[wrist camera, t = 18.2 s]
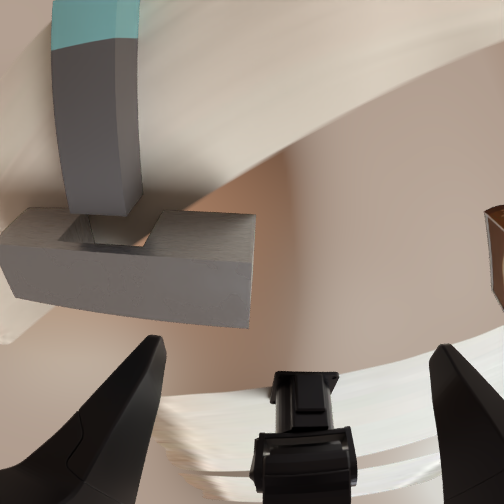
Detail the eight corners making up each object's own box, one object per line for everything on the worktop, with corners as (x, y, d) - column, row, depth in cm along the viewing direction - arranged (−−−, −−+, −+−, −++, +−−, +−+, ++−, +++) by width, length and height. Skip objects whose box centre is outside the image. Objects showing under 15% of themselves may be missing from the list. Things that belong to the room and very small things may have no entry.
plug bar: (143, 193, 20) (126, 216, 17) (91, 192, 20) (70, 213, 17) (140, -9, 12) (118, -17, 10) (80, 4, 12) (52, 1, 10)
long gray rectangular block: (252, 276, 23) (248, 328, 19) (44, 258, 23) (15, 297, 19) (255, 214, 20) (252, 262, 16) (27, 208, 20) (-9, 243, 16)
